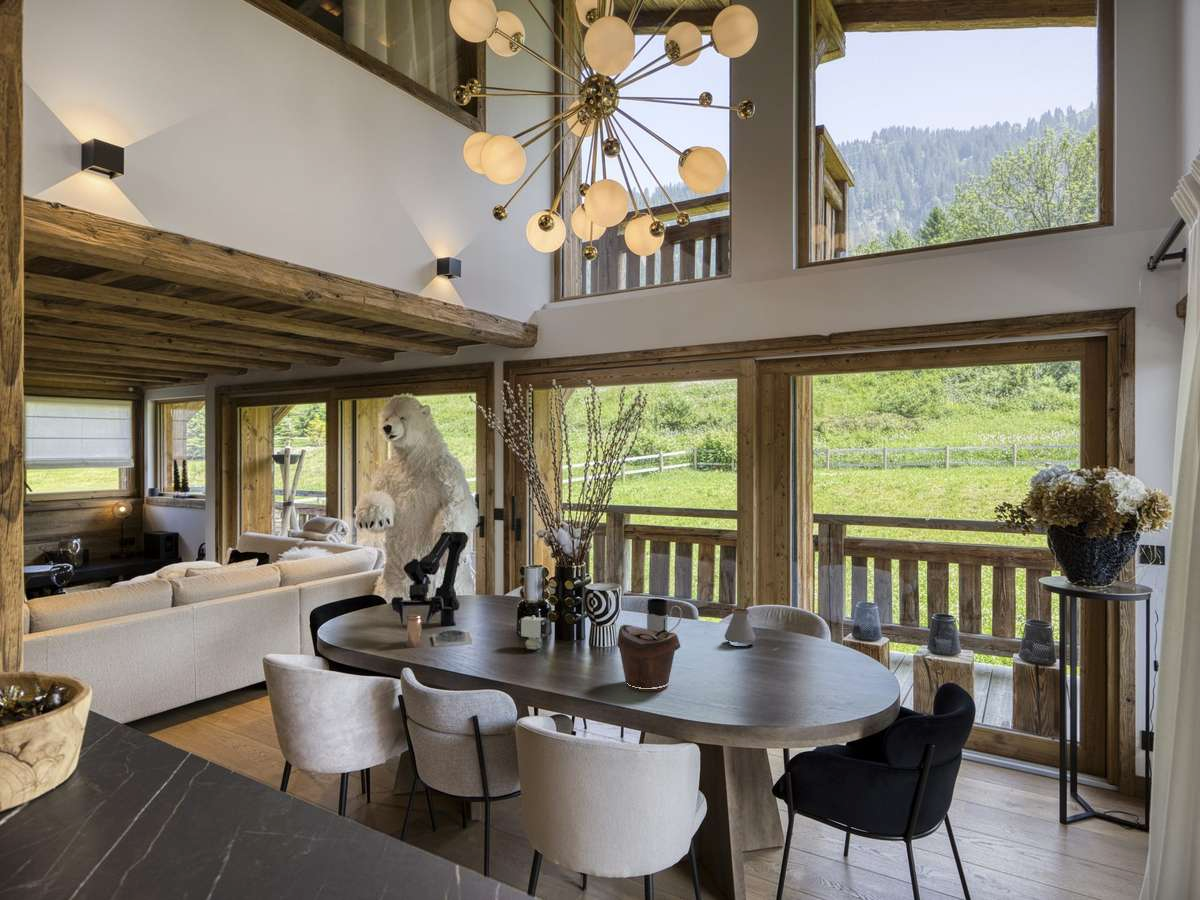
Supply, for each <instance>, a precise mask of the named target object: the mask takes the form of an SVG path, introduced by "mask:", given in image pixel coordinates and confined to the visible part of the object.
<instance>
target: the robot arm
mask: <svg viewBox="0 0 1200 900" xmlns="http://www.w3.org/2000/svg"><path fill="white" fill-rule="evenodd" d="M468 541H469V536H468V534H467V533H466V532H465V531H443V532H441V533H440V536H439V538H438V539H437V541H436V543H435V545H434V546H433V547H432V549H431V550H430V552H429V553H428V554H426V555H423V557H422V558H420V560H419V559H417V558H412V559H411V561H408V562H407V563H406V564H405V565H404V566H403V571H404V573H405V574H406V576H407V577H408V578H409V580H410V581H412V582H413V584H410V585H409V589H408V594H409V596H408V597H409V599H410V600H407V599H406V600H405V599H404V596H394V597H392V598H391V603H390V604H391V607H392V611H394V612H396V613H397V614H399V617H400V618H399V619H400V623H401V624H400V625H403V623H404V620H405V607H429V609H428V612H427V617H426V624H429V623H430V622H431V619H433V617H434V616H435V615H436V614H437V613H440V614H439V617H440V618H439V620H440V621H438V625H439V626H440V627H445V626H447V627H448V626H456V620H455V611H459V609H460V601H458V599H457V592H456V589H455V582H456V578H457V577H456V576H457V572H458V567H459V561H460V558H461V554H462V552H463V551H464V550H465V549H466V546H467V543H468ZM447 550H448V555H447V559H446V563H445V568H444V569H445V570H444V573H443V576H442V577H443V578H442V583H441V585H440V586H439V587H438V586H437V587H436V589H435V593H434V596H432V597H431V599H430V600H427V596H428V593H429V591H430V584H432V582H431V580H430V576H431V575H432V576H434V575H436V574H437V573H438V571H439V569H440V561H441V559H442V557H443V556H444V555H445V553H446V551H447ZM429 575H430V576H429Z"/></svg>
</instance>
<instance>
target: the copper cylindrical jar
mask: <svg viewBox="0 0 1200 900" xmlns="http://www.w3.org/2000/svg"><path fill="white" fill-rule="evenodd" d="M422 617H423V615H422V614H414V613H413V614H408V615H407V617H406V620H407V622H406V623H407V627H406V628H407V633H406V634H407V635H406V637H407V640H406V641H407V642H406V643H407V645H406V646H407V648H419V647H421V646H422V619H423V618H422Z"/></svg>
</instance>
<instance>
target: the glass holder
mask: <svg viewBox="0 0 1200 900" xmlns="http://www.w3.org/2000/svg"><path fill="white" fill-rule="evenodd" d="M674 608H678V609H679V611H680V617H679V620H678V622H677V624H676V625H675V626H674V627H672V629H670V630H668V617H671V616H672V613H673V612H672V611H673V609H674ZM682 611H683V610H682V608H681V607H679V605H674V606H671V608H670V612H669V615H668V600H667V599H663V598H650V599H649V598H648V599H647V607H646V613H647V614H646V629H648V630H652V631H657V632H660V631H662V630H666V631H668V632H669V633H672V631H673V630H674V629H676V628H677V627H678V626H679V624H680V623H681V619H682V615H683V614H682Z"/></svg>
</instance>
